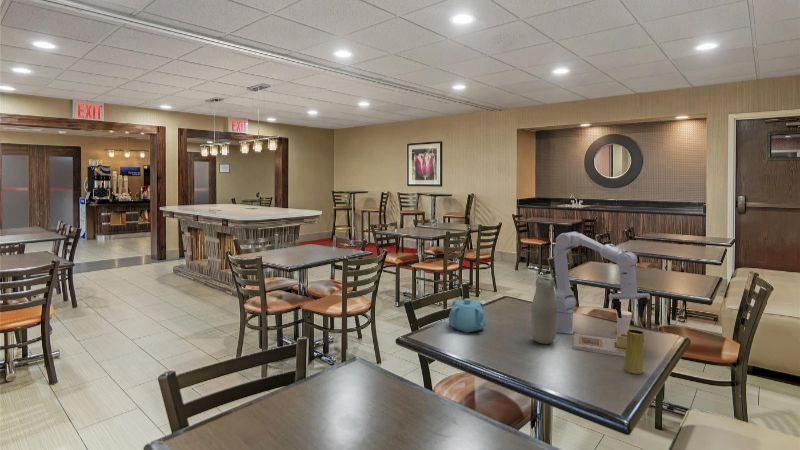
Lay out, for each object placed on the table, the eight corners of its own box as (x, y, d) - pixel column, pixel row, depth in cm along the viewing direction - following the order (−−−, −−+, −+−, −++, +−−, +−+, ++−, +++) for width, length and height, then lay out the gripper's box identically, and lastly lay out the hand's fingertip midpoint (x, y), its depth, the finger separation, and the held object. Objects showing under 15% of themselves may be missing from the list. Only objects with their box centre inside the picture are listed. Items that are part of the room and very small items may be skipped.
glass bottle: (556, 340, 187) (560, 274, 184) (554, 348, 178) (557, 279, 175) (532, 336, 191) (535, 272, 188) (528, 344, 182) (531, 277, 179)
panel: (573, 349, 178) (573, 345, 178) (574, 337, 191) (574, 333, 191) (642, 359, 169) (643, 355, 169) (639, 345, 182) (639, 342, 182)
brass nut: (616, 351, 176) (617, 336, 176) (615, 346, 181) (616, 332, 180) (630, 353, 175) (631, 338, 174) (629, 348, 179) (630, 334, 178)
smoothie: (627, 331, 199) (629, 301, 197) (633, 337, 192) (635, 305, 191) (612, 331, 199) (614, 300, 198) (617, 336, 193) (619, 304, 191)
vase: (620, 367, 161) (622, 328, 160) (636, 366, 162) (638, 328, 160) (630, 374, 155) (632, 334, 154) (646, 374, 156) (649, 334, 154)
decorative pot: (487, 325, 206) (488, 296, 205) (483, 336, 191) (483, 305, 190) (452, 321, 211) (453, 293, 210) (445, 332, 196) (446, 302, 195)
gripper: (611, 285, 174) (613, 320, 174) (652, 284, 171) (654, 319, 172) (606, 282, 181) (608, 316, 181) (645, 281, 178) (647, 315, 178)
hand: (630, 317), depth 177 cm, fingers open, 7 cm apart
